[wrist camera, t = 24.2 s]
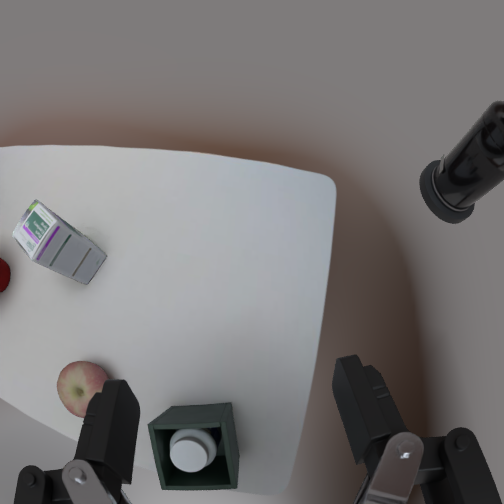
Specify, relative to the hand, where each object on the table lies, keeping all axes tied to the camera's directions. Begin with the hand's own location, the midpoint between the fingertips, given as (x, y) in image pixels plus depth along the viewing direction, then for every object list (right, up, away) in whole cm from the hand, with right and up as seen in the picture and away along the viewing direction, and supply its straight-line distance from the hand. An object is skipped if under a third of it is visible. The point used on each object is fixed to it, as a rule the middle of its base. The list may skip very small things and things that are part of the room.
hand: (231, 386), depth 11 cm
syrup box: (-25, +4, +32) cm, 40 cm away
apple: (-21, -14, +26) cm, 37 cm away
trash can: (-6, -19, +25) cm, 32 cm away
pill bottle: (-6, -19, +25) cm, 32 cm away
